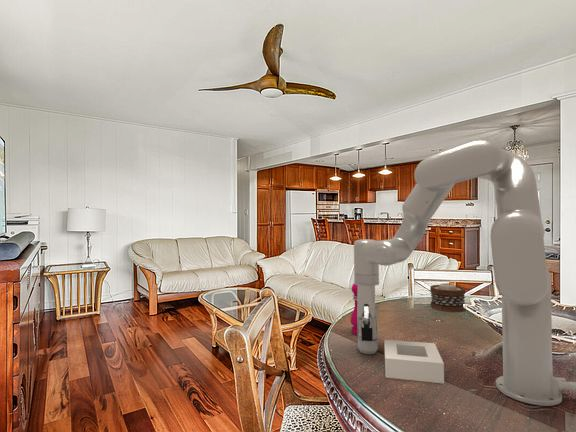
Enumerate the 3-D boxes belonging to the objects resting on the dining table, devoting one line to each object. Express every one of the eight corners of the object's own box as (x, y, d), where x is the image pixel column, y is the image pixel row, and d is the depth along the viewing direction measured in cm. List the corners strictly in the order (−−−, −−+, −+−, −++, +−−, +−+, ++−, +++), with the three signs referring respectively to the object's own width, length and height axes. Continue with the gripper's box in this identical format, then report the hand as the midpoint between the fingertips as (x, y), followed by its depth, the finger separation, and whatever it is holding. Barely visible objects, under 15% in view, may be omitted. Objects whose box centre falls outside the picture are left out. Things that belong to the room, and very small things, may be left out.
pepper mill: (371, 336, 118) (370, 279, 118) (350, 335, 119) (349, 279, 120) (370, 330, 125) (369, 276, 125) (350, 329, 127) (349, 275, 127)
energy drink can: (378, 355, 102) (377, 305, 102) (358, 354, 103) (357, 305, 103) (376, 347, 108) (375, 300, 108) (357, 347, 109) (356, 300, 109)
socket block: (435, 360, 97) (434, 343, 97) (444, 383, 84) (443, 363, 84) (384, 356, 101) (384, 339, 101) (385, 377, 87) (385, 358, 87)
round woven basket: (473, 286, 148) (443, 288, 146) (474, 311, 148) (443, 313, 146) (451, 280, 163) (423, 282, 160) (452, 303, 163) (423, 305, 160)
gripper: (356, 274, 115) (356, 327, 114) (352, 283, 98) (353, 345, 98) (378, 274, 113) (379, 329, 113) (379, 284, 96) (380, 348, 96)
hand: (367, 336), depth 105 cm, fingers closed on energy drink can, 6 cm apart
